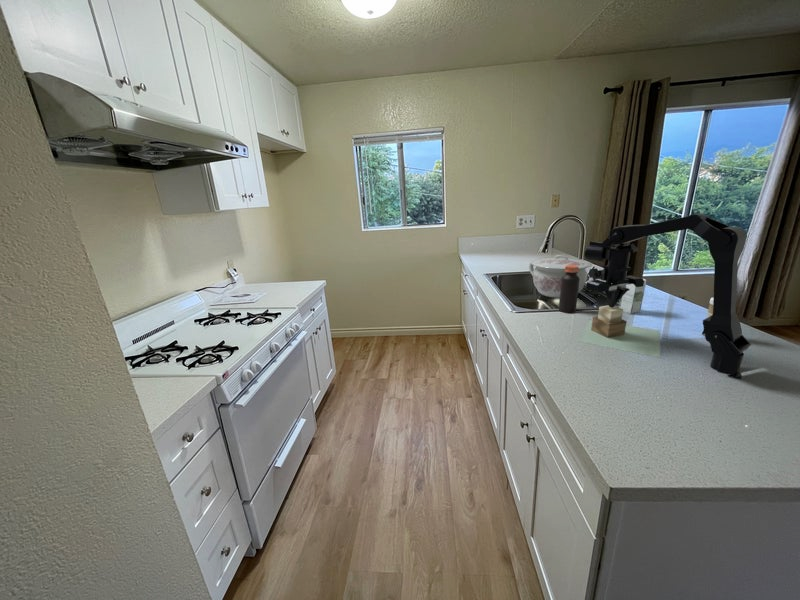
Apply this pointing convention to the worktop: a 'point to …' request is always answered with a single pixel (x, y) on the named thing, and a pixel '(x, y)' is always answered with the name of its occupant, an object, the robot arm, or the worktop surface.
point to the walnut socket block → (608, 327)
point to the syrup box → (632, 299)
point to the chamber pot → (555, 273)
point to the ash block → (610, 314)
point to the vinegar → (569, 290)
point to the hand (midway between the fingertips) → (611, 307)
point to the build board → (627, 340)
